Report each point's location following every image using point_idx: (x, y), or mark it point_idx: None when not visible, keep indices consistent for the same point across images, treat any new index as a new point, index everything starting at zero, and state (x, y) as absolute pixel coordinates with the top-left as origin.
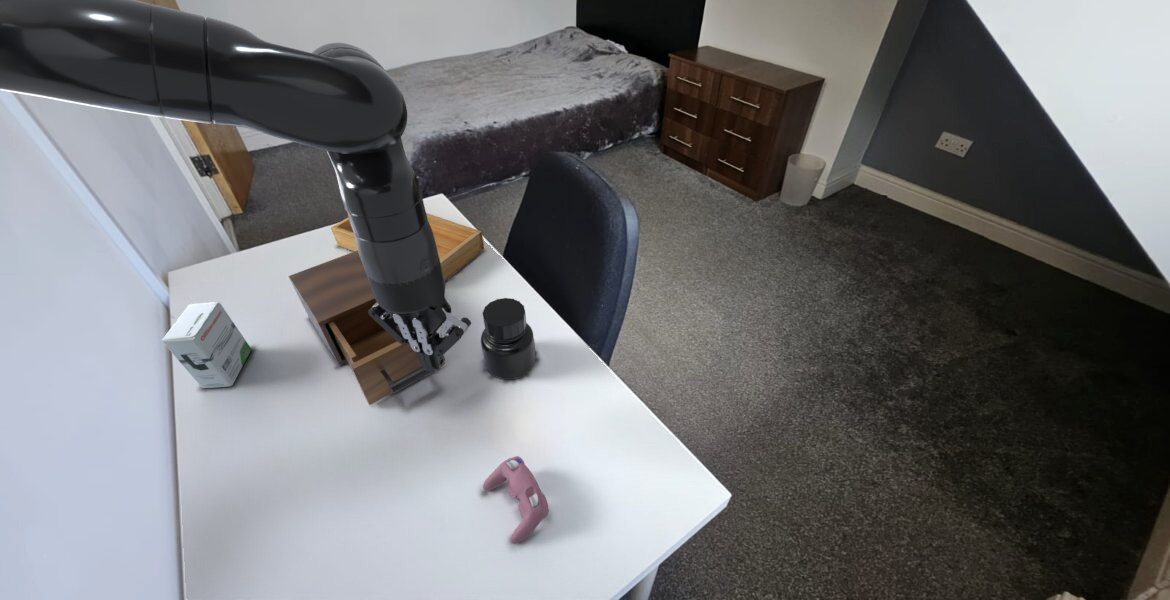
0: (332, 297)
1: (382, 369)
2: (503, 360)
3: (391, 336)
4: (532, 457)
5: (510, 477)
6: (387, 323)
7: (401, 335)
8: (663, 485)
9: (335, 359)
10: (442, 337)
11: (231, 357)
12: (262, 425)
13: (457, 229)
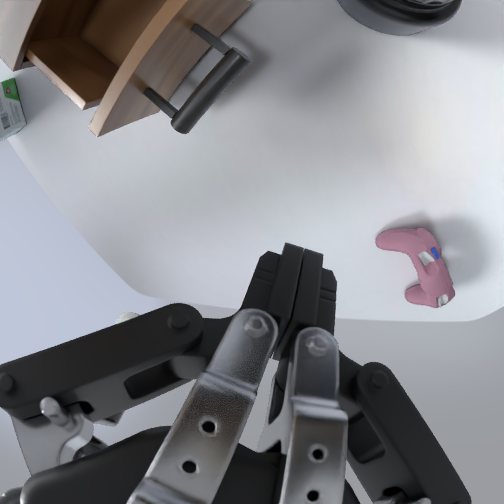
0: (8, 17)
1: (143, 90)
2: (403, 26)
3: None
4: (440, 194)
5: (421, 276)
6: (104, 417)
7: (170, 386)
8: None
9: None
10: (347, 401)
11: (3, 112)
12: (71, 159)
13: None
